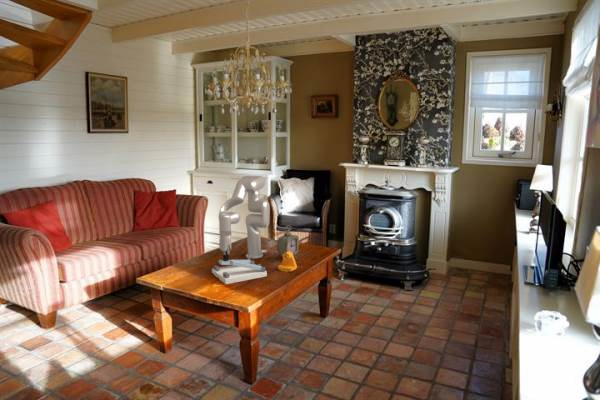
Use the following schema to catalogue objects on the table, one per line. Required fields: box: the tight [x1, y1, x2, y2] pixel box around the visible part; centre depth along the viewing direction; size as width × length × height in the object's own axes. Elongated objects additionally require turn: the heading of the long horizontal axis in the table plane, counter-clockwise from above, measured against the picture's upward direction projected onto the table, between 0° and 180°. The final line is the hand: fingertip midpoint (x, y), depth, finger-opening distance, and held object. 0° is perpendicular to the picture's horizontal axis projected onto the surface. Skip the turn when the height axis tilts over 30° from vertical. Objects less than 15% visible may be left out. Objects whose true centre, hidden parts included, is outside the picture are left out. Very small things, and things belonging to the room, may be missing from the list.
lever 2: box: [229, 259, 263, 271], centre depth 287 cm, size 22×5×2 cm, turn 121°
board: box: [211, 257, 268, 285], centre depth 293 cm, size 28×24×6 cm
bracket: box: [277, 251, 298, 273], centre depth 302 cm, size 11×7×12 cm
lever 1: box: [218, 259, 252, 266], centre depth 300 cm, size 22×5×2 cm, turn 121°
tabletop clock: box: [276, 224, 300, 259], centre depth 324 cm, size 14×9×25 cm, turn 143°
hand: (226, 260), depth 296 cm, fingers closed
